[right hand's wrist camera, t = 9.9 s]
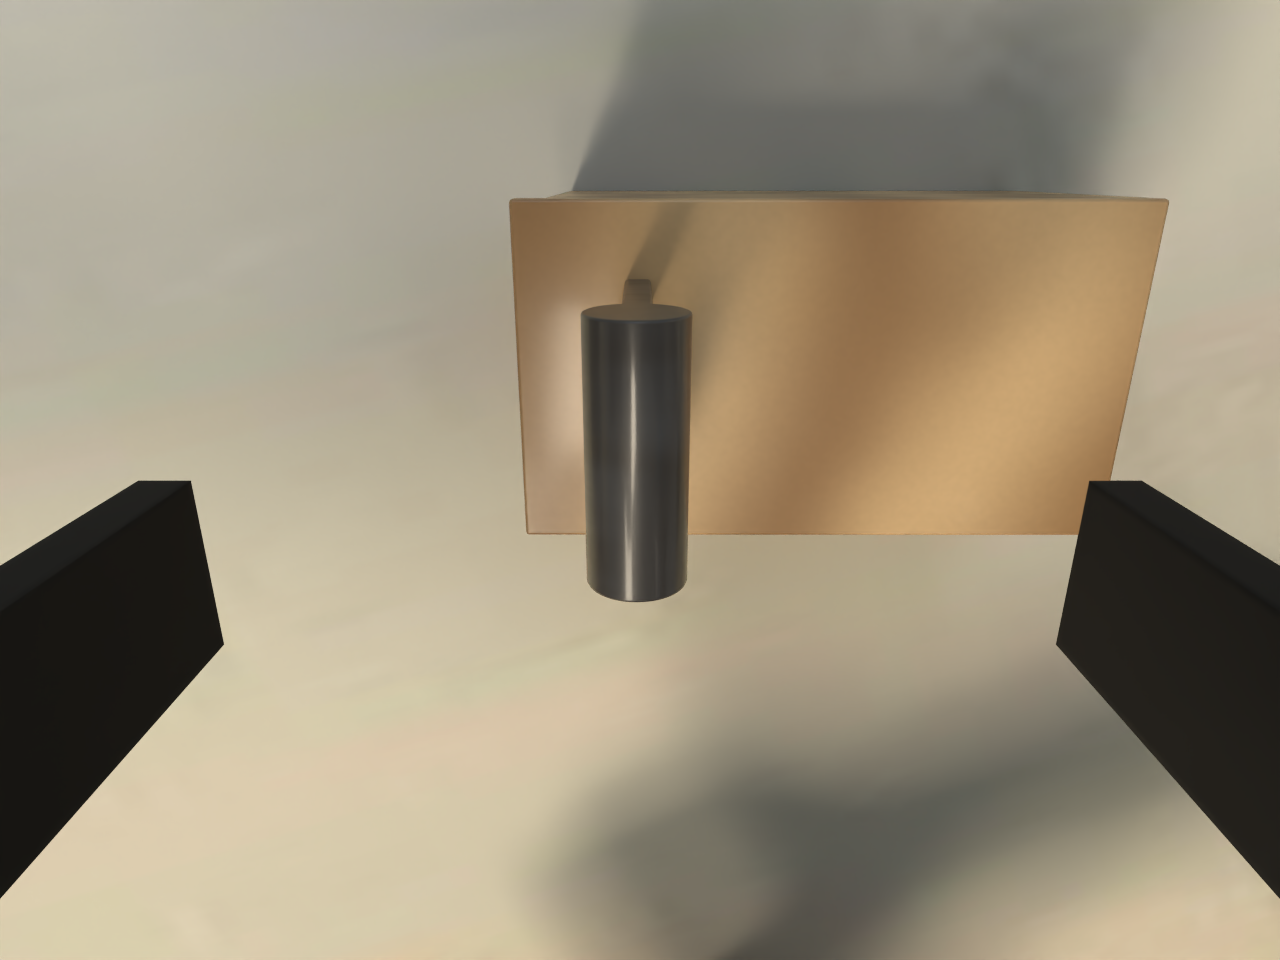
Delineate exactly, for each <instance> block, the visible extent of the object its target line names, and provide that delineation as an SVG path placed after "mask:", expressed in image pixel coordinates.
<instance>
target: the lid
mask: <svg viewBox="0 0 1280 960" xmlns="http://www.w3.org/2000/svg"><path fill="white" fill-rule="evenodd" d="M1168 205H1169V200H1167V199H1160V198H514V199H511V200H510V202H509V211H510V230H511V249H512V268H513V287H514V306H515V325H516V344H517V363H518V382H519V401H520V420H521V439H522V458H523V477H524V496H525V515H526V532H527V534H586V556H587V581H588V583H589V585H590V587H591V588H592V589H593V590H594V591H595V592H597V593H599V594H600V595H602V596H605V597H607V598H610V599H614V600H619V601H626V602H647V601H654V600H659V599H663V598H666V597H669V596H671V595H673V594H675V593H677V592H678V591H680V590H681V589H682V588H683V587H684V585H685V583H686V580H687V549H688V534H909V535H1078V534H1079V529H1080V524H1081V519H1082V514H1083V509H1084V504H1085V499H1086V494H1087V489H1088V484H1089V481H1110V479H1111V474H1112V469H1113V464H1114V460H1115V455H1116V450H1117V446H1118V441H1119V436H1120V431H1121V427H1122V422H1123V417H1124V413H1125V408H1126V403H1127V398H1128V394H1129V389H1130V384H1131V379H1132V375H1133V370H1134V365H1135V361H1136V356H1137V351H1138V346H1139V342H1140V337H1141V332H1142V328H1143V323H1144V318H1145V313H1146V309H1147V304H1148V299H1149V295H1150V290H1151V285H1152V280H1153V276H1154V271H1155V266H1156V262H1157V257H1158V252H1159V247H1160V243H1161V238H1162V233H1163V228H1164V224H1165V219H1166V214H1167V210H1168Z"/></svg>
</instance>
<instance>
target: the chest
mask: <svg viewBox="0 0 1280 960" xmlns="http://www.w3.org/2000/svg"><path fill="white" fill-rule="evenodd" d="M548 198H1142V197H1123V196H1103V195H1083V194H1064V193H1044V192H1023V191H570V192H566V193H563V194H559V195H555V196H552V197H548Z"/></svg>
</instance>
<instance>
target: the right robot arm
mask: <svg viewBox="0 0 1280 960" xmlns="http://www.w3.org/2000/svg"><path fill="white" fill-rule="evenodd" d="M223 645H224V642H223V637H222V632H221V628H220V623H219V618H218V613H217V608H216V603H215V598H214V593H213V588H212V583H211V578H210V573H209V568H208V563H207V558H206V554H205V549H204V544H203V539H202V534H201V529H200V524H199V519H198V514H197V509H196V504H195V499H194V494H193V489H192V484H191V481H137V482H136V483H134V484H132V485H131V486H129V487H127V488H126V489H124V490H123V491H121V492H119V493H118V494H116V495H114V496H113V497H111V498H110V499H108V500H106V501H105V502H103V503H101V504H100V505H98V506H97V507H95V508H93V509H92V510H90V511H88V512H87V513H85V514H84V515H82V516H80V517H79V518H77V519H75V520H74V521H72V522H71V523H69V524H67V525H66V526H64V527H62V528H61V529H59V530H58V531H56V532H54V533H53V534H51V535H49V536H48V537H46V538H45V539H43V540H41V541H40V542H38V543H36V544H35V545H33V546H32V547H30V548H28V549H27V550H25V551H23V552H22V553H20V554H19V555H17V556H15V557H14V558H12V559H10V560H9V561H7V562H6V563H4V564H2V565H1V566H0V898H1V897H2V896H3V895H4V894H5V893H6V891H7V890H8V889H9V888H10V887H11V886H12V885H13V884H14V882H15V881H16V880H17V879H18V878H19V877H20V876H21V874H22V873H23V872H24V871H25V870H26V869H27V868H28V866H29V865H30V864H31V863H32V862H33V861H34V860H35V859H36V857H37V856H38V855H39V854H40V853H41V852H42V851H43V849H44V848H45V847H46V846H47V845H48V844H49V843H50V841H51V840H52V839H53V838H54V837H55V836H56V835H57V834H58V832H59V831H60V830H61V829H62V828H63V827H64V826H65V824H66V823H67V822H68V821H69V820H70V819H71V818H72V817H73V815H74V814H75V813H76V812H77V811H78V810H79V809H80V807H81V806H82V805H83V804H84V803H85V802H86V801H87V799H88V798H89V797H90V796H91V795H92V794H93V793H94V792H95V790H96V789H97V788H98V787H99V786H100V785H101V784H102V782H103V781H104V780H105V779H106V778H107V777H108V776H109V774H110V773H111V772H112V771H113V770H114V769H115V768H116V767H117V765H118V764H119V763H120V762H121V761H122V760H123V759H124V757H125V756H126V755H127V754H128V753H129V752H130V751H131V749H132V748H133V747H134V746H135V745H136V744H137V743H138V742H139V740H140V739H141V738H142V737H143V736H144V735H145V734H146V732H147V731H148V730H149V729H150V728H151V727H152V726H153V725H154V723H155V722H156V721H157V720H158V719H159V718H160V717H161V715H162V714H163V713H164V712H165V711H166V710H167V709H168V707H169V706H170V705H171V704H172V703H173V702H174V701H175V700H176V698H177V697H178V696H179V695H180V694H181V693H182V692H183V690H184V689H185V688H186V687H187V686H188V685H189V684H190V682H191V681H192V680H193V679H194V678H195V677H196V676H197V675H198V673H199V672H200V671H201V670H202V669H203V668H204V667H205V665H206V664H207V663H208V662H209V661H210V660H211V659H212V657H213V656H214V655H215V654H216V653H217V652H218V651H219V650H220V648H221V647H222V646H223ZM1056 645H1057V646H1058V647H1059V648H1060V650H1061V651H1062V652H1063V653H1064V654H1065V655H1066V656H1067V657H1068V659H1069V660H1070V661H1071V662H1072V663H1073V664H1074V665H1075V667H1076V668H1077V669H1078V670H1079V671H1080V672H1081V673H1082V675H1083V676H1084V677H1085V678H1086V679H1087V680H1088V681H1089V682H1090V684H1091V685H1092V686H1093V687H1094V688H1095V689H1096V690H1097V692H1098V693H1099V694H1100V695H1101V696H1102V697H1103V698H1104V700H1105V701H1106V702H1107V703H1108V704H1109V705H1110V706H1111V707H1112V709H1113V710H1114V711H1115V712H1116V713H1117V714H1118V715H1119V717H1120V718H1121V719H1122V720H1123V721H1124V722H1125V723H1126V725H1127V726H1128V727H1129V728H1130V729H1131V730H1132V731H1133V732H1134V734H1135V735H1136V736H1137V737H1138V738H1139V739H1140V740H1141V742H1142V743H1143V744H1144V745H1145V746H1146V747H1147V748H1148V749H1149V751H1150V752H1151V753H1152V754H1153V755H1154V756H1155V757H1156V759H1157V760H1158V761H1159V762H1160V763H1161V764H1162V765H1163V767H1164V768H1165V769H1166V770H1167V771H1168V772H1169V773H1170V774H1171V776H1172V777H1173V778H1174V779H1175V780H1176V781H1177V782H1178V784H1179V785H1180V786H1181V787H1182V788H1183V789H1184V790H1185V792H1186V793H1187V794H1188V795H1189V796H1190V797H1191V798H1192V799H1193V801H1194V802H1195V803H1196V804H1197V805H1198V806H1199V807H1200V809H1201V810H1202V811H1203V812H1204V813H1205V814H1206V815H1207V817H1208V818H1209V819H1210V820H1211V821H1212V822H1213V823H1214V824H1215V826H1216V827H1217V828H1218V829H1219V830H1220V831H1221V832H1222V834H1223V835H1224V836H1225V837H1226V838H1227V839H1228V840H1229V841H1230V843H1231V844H1232V845H1233V846H1234V847H1235V848H1236V849H1237V851H1238V852H1239V853H1240V854H1241V855H1242V856H1243V857H1244V859H1245V860H1246V861H1247V862H1248V863H1249V864H1250V865H1251V866H1252V868H1253V869H1254V870H1255V871H1256V872H1257V873H1258V874H1259V876H1260V877H1261V878H1262V879H1263V880H1264V881H1265V882H1266V884H1267V885H1268V886H1269V887H1270V888H1271V889H1272V890H1273V891H1274V893H1275V894H1276V895H1277V896H1278V897H1279V898H1280V566H1279V565H1278V564H1276V563H1274V562H1273V561H1271V560H1270V559H1268V558H1266V557H1265V556H1263V555H1261V554H1260V553H1258V552H1257V551H1255V550H1253V549H1252V548H1250V547H1248V546H1247V545H1245V544H1244V543H1242V542H1240V541H1239V540H1237V539H1235V538H1234V537H1232V536H1231V535H1229V534H1227V533H1226V532H1224V531H1222V530H1221V529H1219V528H1218V527H1216V526H1214V525H1213V524H1211V523H1209V522H1208V521H1206V520H1205V519H1203V518H1201V517H1200V516H1198V515H1196V514H1195V513H1193V512H1192V511H1190V510H1188V509H1187V508H1185V507H1183V506H1182V505H1180V504H1179V503H1177V502H1175V501H1174V500H1172V499H1170V498H1169V497H1167V496H1166V495H1164V494H1162V493H1161V492H1159V491H1157V490H1156V489H1154V488H1153V487H1151V486H1149V485H1148V484H1146V483H1144V482H1143V481H1089V484H1088V489H1087V494H1086V499H1085V504H1084V509H1083V514H1082V519H1081V524H1080V529H1079V534H1078V539H1077V544H1076V549H1075V554H1074V558H1073V563H1072V568H1071V573H1070V578H1069V583H1068V588H1067V593H1066V598H1065V603H1064V608H1063V613H1062V618H1061V623H1060V628H1059V632H1058V637H1057V642H1056Z"/></svg>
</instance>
